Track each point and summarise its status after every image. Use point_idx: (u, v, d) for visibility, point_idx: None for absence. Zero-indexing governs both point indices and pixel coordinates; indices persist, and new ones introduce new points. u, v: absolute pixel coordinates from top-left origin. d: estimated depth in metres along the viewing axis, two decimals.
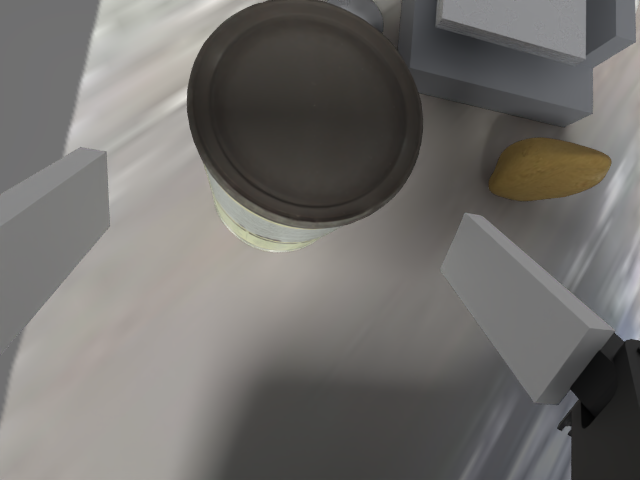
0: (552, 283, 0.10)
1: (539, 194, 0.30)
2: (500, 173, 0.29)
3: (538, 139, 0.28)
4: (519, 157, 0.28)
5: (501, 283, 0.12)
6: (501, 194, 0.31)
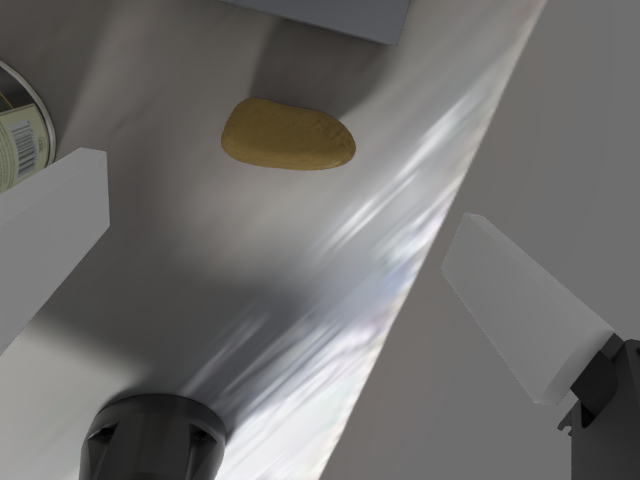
0: (552, 283, 0.10)
1: None
2: (221, 140, 0.24)
3: (251, 113, 0.22)
4: (225, 134, 0.22)
5: (500, 282, 0.12)
6: None
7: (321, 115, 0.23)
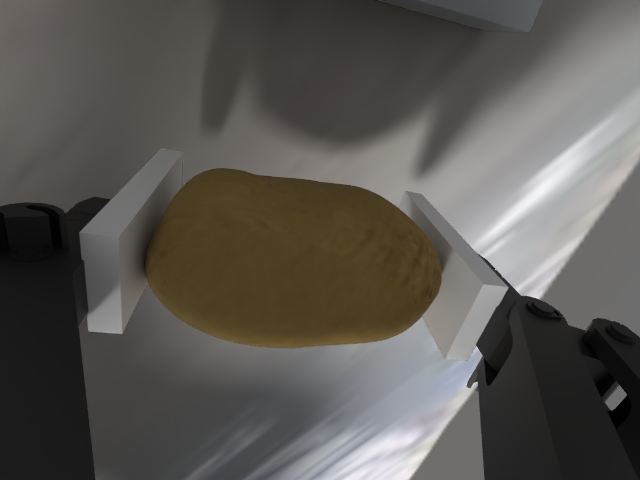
0: (464, 249, 0.11)
1: None
2: None
3: (205, 224, 0.09)
4: (148, 265, 0.09)
5: None
6: None
7: (372, 210, 0.10)
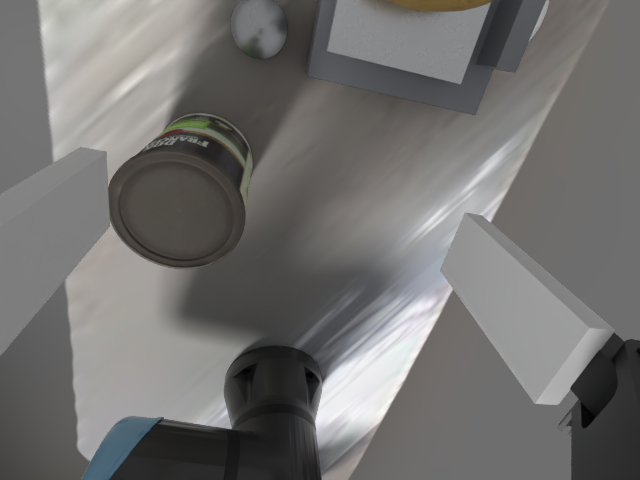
0: (552, 283, 0.10)
1: (424, 7, 0.28)
2: None
3: None
4: None
5: (501, 282, 0.12)
6: (389, 0, 0.28)
7: None
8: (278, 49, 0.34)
